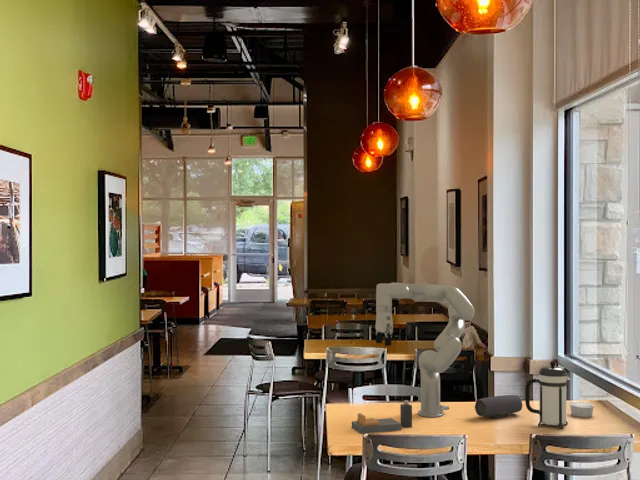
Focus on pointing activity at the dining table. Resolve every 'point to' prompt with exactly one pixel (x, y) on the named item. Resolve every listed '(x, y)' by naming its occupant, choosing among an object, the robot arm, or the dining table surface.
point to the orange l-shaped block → (366, 420)
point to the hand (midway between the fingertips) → (383, 344)
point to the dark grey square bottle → (406, 414)
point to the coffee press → (550, 395)
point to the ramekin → (581, 409)
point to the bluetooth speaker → (498, 406)
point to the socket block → (377, 426)
